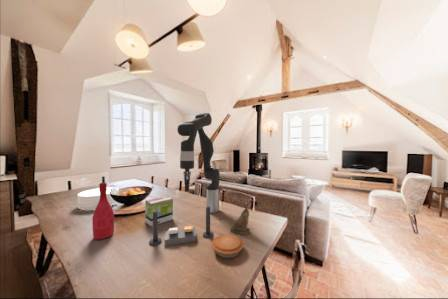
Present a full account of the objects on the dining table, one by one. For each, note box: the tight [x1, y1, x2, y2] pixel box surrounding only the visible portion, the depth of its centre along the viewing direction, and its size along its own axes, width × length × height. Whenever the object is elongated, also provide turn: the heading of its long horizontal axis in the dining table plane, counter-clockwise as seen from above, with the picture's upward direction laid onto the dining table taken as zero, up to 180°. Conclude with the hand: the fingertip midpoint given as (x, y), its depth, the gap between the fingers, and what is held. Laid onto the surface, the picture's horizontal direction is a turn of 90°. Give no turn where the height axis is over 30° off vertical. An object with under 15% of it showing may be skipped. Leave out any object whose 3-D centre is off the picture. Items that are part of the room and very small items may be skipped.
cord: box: [148, 211, 162, 247], centre depth 87 cm, size 6×6×16 cm
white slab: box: [168, 227, 179, 234], centre depth 90 cm, size 4×6×1 cm
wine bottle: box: [91, 182, 115, 240], centre depth 93 cm, size 10×10×30 cm
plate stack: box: [77, 186, 120, 211], centre depth 143 cm, size 28×28×12 cm
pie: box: [211, 234, 244, 259], centre depth 81 cm, size 16×16×5 cm
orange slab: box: [183, 225, 194, 232], centre depth 92 cm, size 4×6×1 cm
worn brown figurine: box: [229, 204, 251, 236], centre depth 98 cm, size 12×6×18 cm, turn 68°
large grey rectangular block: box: [164, 227, 197, 246], centre depth 91 cm, size 16×9×4 cm, turn 105°
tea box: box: [144, 195, 174, 228], centre depth 112 cm, size 15×10×15 cm
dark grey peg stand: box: [202, 205, 214, 239], centre depth 94 cm, size 6×6×16 cm
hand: (186, 191), depth 91 cm, fingers closed
